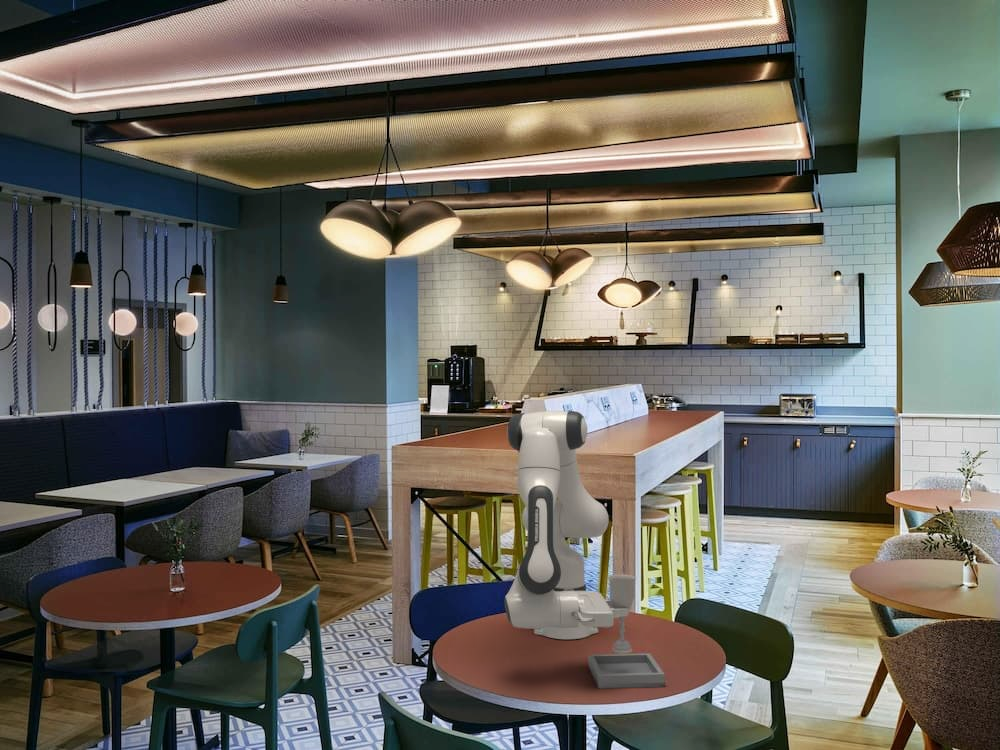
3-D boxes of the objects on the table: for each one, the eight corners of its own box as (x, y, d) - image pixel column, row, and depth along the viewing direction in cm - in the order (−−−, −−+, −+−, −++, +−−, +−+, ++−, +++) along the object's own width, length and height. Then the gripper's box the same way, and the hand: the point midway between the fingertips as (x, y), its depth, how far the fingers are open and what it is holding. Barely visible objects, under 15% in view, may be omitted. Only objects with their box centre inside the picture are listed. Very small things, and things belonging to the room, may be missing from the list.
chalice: (619, 643, 214) (618, 573, 214) (641, 649, 209) (641, 577, 210) (602, 650, 209) (601, 578, 209) (625, 656, 204) (624, 582, 204)
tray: (588, 666, 217) (588, 654, 217) (649, 665, 217) (649, 653, 217) (598, 688, 201) (598, 675, 201) (664, 686, 201) (664, 674, 201)
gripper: (575, 607, 198) (633, 606, 199) (565, 587, 219) (618, 586, 219) (575, 634, 198) (634, 633, 199) (565, 611, 219) (618, 610, 219)
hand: (625, 608), depth 209 cm, fingers closed on chalice, 5 cm apart
